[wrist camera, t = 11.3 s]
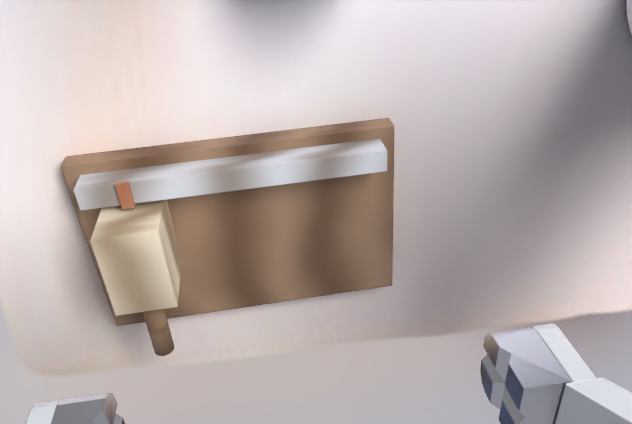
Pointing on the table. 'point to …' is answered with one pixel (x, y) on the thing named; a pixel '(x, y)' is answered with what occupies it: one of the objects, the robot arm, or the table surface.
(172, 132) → the table surface
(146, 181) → the walnut board
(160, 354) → the wooden mallet
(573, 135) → the table surface
